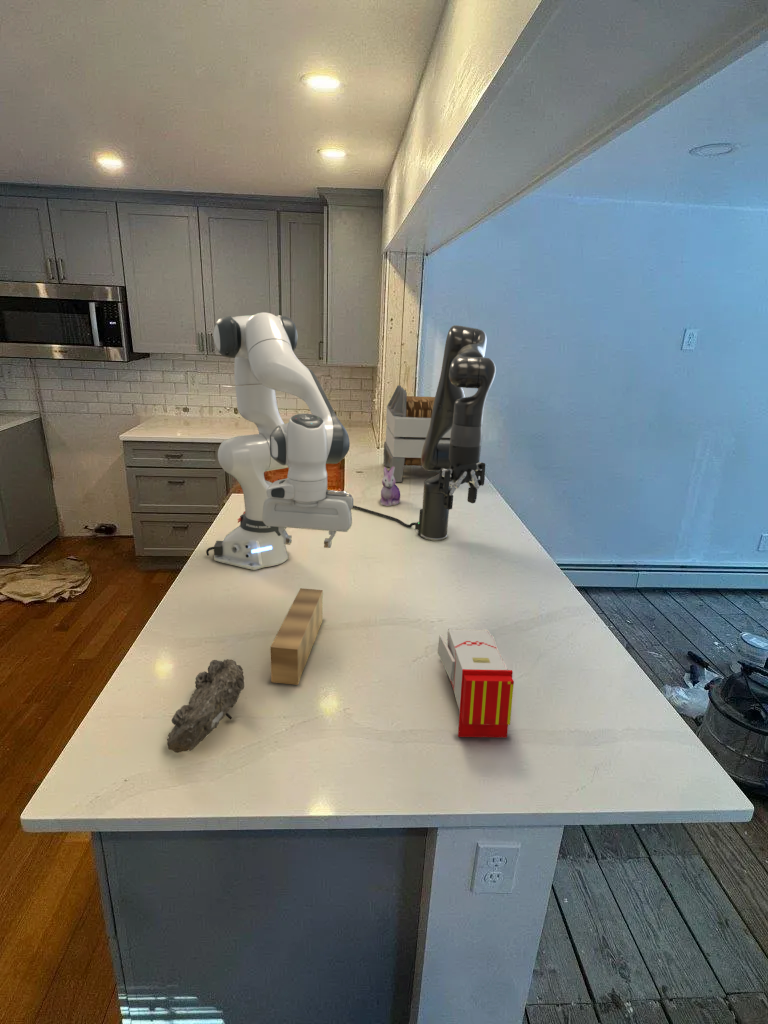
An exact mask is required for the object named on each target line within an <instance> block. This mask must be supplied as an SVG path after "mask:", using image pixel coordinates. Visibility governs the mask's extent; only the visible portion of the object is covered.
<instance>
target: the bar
mask: <svg viewBox="0 0 768 1024" xmlns="http://www.w3.org/2000/svg"><path fill="white" fill-rule="evenodd" d="M323 605H324V590H323V589H315V588H303V587H301V588H299V590H298V592H297V594H296V596H295V598H294V600H293V601H292V603H291V606H290V608H289V609H288V612H287V613H286V615H285V617H284V619H283V621H282V623H281V625H280V627H279V629H278V631H277V633H276V635H275V636H274V638H273V641H272V643H271V645H270V652H269V653H270V677H271V678H270V681H271V683H273V684H274V683H275V684H286V685H295V686H298V685H299V683H300V680H301V678H302V676H303V672H304V671H305V667H306V665H307V663H308V659H309V658H310V654H311V651H312V649H313V647H314V644H315V642H316V639H317V637H318V634H319V631H320V628H321V626H322V624H323V620H324V619H323V618H324V617H323V615H324V614H323V612H324V611H323V609H324V608H323V607H324V606H323Z"/></svg>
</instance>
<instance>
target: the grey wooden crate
mask: <svg viewBox="0 0 768 1024" xmlns="http://www.w3.org/2000/svg"><path fill="white" fill-rule="evenodd" d="M407 394H408V393H407V390H406V389H404V388H403V387H402V385H399V384H398V385H397V386H396V388H395V390H394V392H393V394H392V395H391V398H390V400H389V402H388V404H387V405H386V413H385V414H386V415H385V423H386V428H385V438H384V442H383V466H384V467H386V468H387V467H388V468H389V470H390V469H391V468H392V467H393V466H394V468H395V469H394V474H393V476H394V478H395V481H396V483H402V482H403V475H404V469H405V466H406V467H407V466H411V467H412V466H413V467H415V466H416V467H417V466H418V467H422V465H421V454H422V449H423V446H424V442H425V439H426V436H427V433H428V430H429V426H430V421H431V416H432V410H433V405H434V400H435V396H415V395H414V396H413V395H412V396H411V395H407ZM451 429H452V428H451ZM451 429H450V430H449V431H448V432H447V433H446V434H445V435H444V436H443V437H442V438H441V439H440V441H439V443H450V437H451ZM452 482H453V483H455V482H454V481H453V480H452Z"/></svg>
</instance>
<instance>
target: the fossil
mask: <svg viewBox="0 0 768 1024" xmlns="http://www.w3.org/2000/svg"><path fill="white" fill-rule="evenodd" d="M243 670H244V669H243V667H242V665H240V664H237V662H236V661H235V660H234V659H232V658H231V659H227V658H226V659H224V660H223V661H222V660H217V659H212V660H211V661H210V663H209V665H208V666H207V671H201V672H199V673H198V674H197V675H196V676H195V680H194V684H195V685H194V687H195V689H194V690H193V693H192V694H191V697H190V698H189V700H188V704H184V705H182V706H181V707H180V709H177V710H176V711H175V713H174V715H173V716H172V718H171V723H172V724H173V727H172V730H171V731H170V732H168V734H167V738H166V741H167V742H166V745H167V749H168V750H169V751H173V752H174V753H176V754H178V753H182V752H188V751H189V752H192V751H193V750H195V748H196V747H197V746H199V744H200V743H201V742H203V741H204V740H205V739H206V738H207V737H208V736H209V735H210V734H211V733H212V732H214V730H215V729H217V727H218V726H219V724H220V722H221V721H222V720H223V719H224V718H225V716H226V717H227V719H229V720H233V717H232V715H230V714H229V710H230V709H231V708H234V706H235V704H236V703H237V702H238V699H239V697H240V695H241V693H242V691H243V690H245V689H244V688H245V675H244V671H243Z"/></svg>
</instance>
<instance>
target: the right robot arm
mask: <svg viewBox="0 0 768 1024" xmlns="http://www.w3.org/2000/svg"><path fill="white" fill-rule="evenodd" d="M487 338H488V337H487V334H486V332H485V331H484V330H482V329H480V328H476V327H475V328H474V327H470V326H466V325H465V326H463V325H459V324H458V325H456V324H455V325H454V324H453V325H452V326H451V327H450V328H449V330H448V332H447V334H446V339H445V343H444V351H443V358H442V364H441V371H440V375H439V376H440V377H439V381H438V384H437V388H436V392H435V396H434V397H435V400H434V405H433V410H432V416H431V421H430V426H429V430H428V433H427V436H426V439H425V442H424V446H423V449H422V454H421V465H422V466H421V467H422V469H423V470H424V471H428V472H429V471H430V472H438V473H437V474H435V475H433V476H431V477H429V478H427V479H425V480H424V482H423V493H422V496H423V497H422V506H421V508H420V509H419V516H418V521H416V522H411V523H410V524H407V523H405V522H404V521H402V520H401V519H399V518H396V517H394V516H391V515H389V514H388V515H387V514H385V513H384V514H383V513H381V512H377V511H374V510H371V509H367V508H364V507H360V506H358V505H354V504H353V508H352V509H356V510H360V511H362V512H366V513H369V514H372V515H376V516H379V517H383V518H386V519H390V520H392V521H395V522H397V523H399V524H400V525H402V526H403V527H405V528H412V527H413V526H414V529H415V530H417V535H418V536H420V538H421V539H424V540H426V541H432V542H440V541H444V540H446V539H447V538H448V525H449V517H450V516H449V514H450V510H452V509H453V506H454V505H453V503H454V493H455V491H456V490H457V489H459V488H460V485H463V484H465V483H467V485H468V489H467V499H466V500H467V502H468V503H470V504H476V501H477V499H478V498H477V497H478V490H479V488H480V487H481V486H482V487H483V486H484V485H485V480H486V479H485V478H486V463H485V462H482V461H480V460H481V451H482V442H483V422H484V421H483V420H484V412H485V406H486V401H487V398H488V395H489V392H490V390H491V387H492V385H493V382H494V380H495V377H496V372H497V368H496V364H495V362H494V360H493V359H491V358H490V357H485V355H486V350H487V342H488V341H487V340H488V339H487ZM464 389H477V391H476V392H475V393H474V394H473V395H470V396H466V395H465V391H464ZM451 428H452V429H451ZM450 429H451V437H450V443H439V441H440V439H441V438H442V437H443V436H444V435H445V434H446V433H447V432H448V431H449V430H450ZM277 480H280V479H279V478H278V479H277ZM452 480H453V481H454V482H455V483H453V482H452Z"/></svg>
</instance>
